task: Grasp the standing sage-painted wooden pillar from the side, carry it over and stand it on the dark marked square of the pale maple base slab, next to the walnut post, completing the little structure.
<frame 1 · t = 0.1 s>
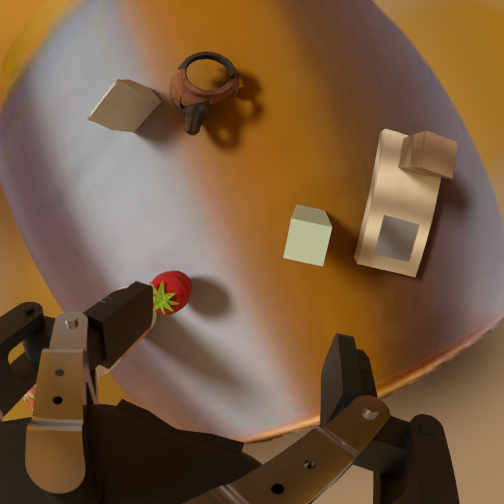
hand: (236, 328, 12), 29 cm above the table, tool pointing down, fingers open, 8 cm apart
pillar: (307, 221, 39), on the table
strawberry: (183, 279, 45), on the table
fruit juice: (136, 307, 49), on the table
pottery mug: (207, 99, 37), on the table
base slab: (398, 202, 36), on the table
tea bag: (142, 110, 39), on the table
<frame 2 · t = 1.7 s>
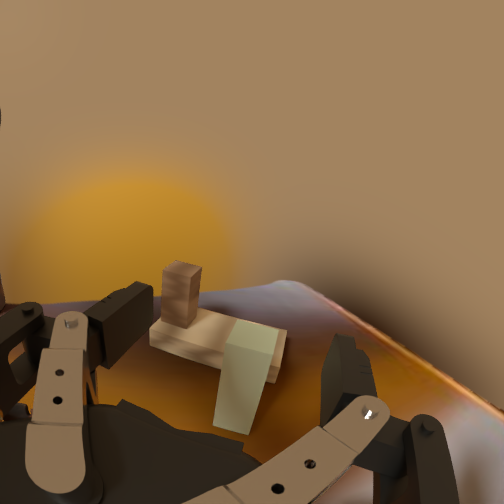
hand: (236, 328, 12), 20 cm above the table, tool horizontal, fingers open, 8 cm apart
pillar: (234, 417, 28), on the table
pottery mug: (35, 471, 14), on the table
base slab: (218, 347, 40), on the table
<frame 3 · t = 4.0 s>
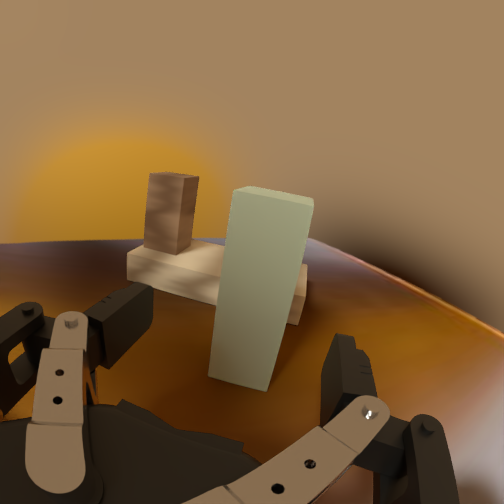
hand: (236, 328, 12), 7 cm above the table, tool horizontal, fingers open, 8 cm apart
pillar: (243, 366, 19), on the table
base slab: (218, 285, 31), on the table
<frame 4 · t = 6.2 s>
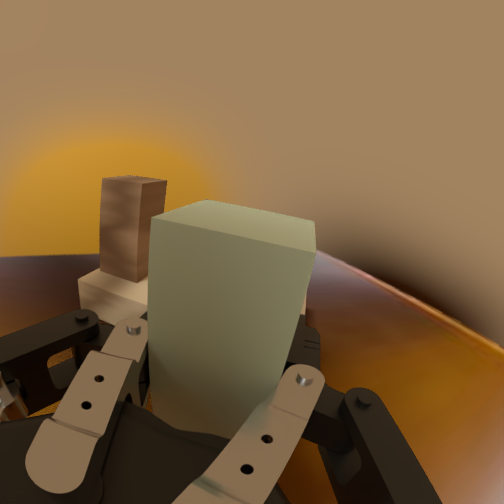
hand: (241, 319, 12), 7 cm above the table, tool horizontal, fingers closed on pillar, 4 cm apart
pillar: (209, 451, 12), on the table, touching gripper
base slab: (193, 319, 24), on the table
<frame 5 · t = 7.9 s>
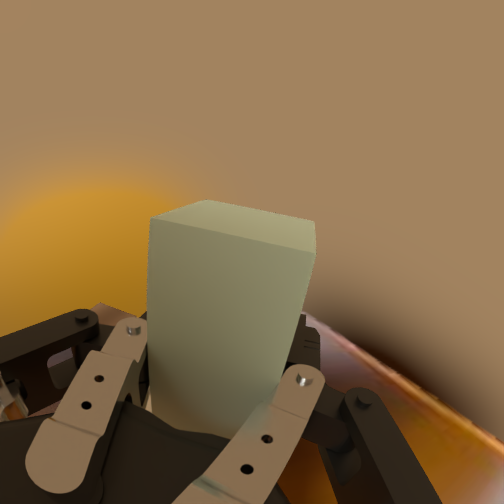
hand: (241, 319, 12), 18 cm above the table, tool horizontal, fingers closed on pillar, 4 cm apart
pillar: (209, 451, 12), point 11 cm above the table, touching gripper
base slab: (175, 429, 23), on the table
when the fingers open (11 cm above the table, at t = 10.0 s): pillar stays where it is, resting on base slab.
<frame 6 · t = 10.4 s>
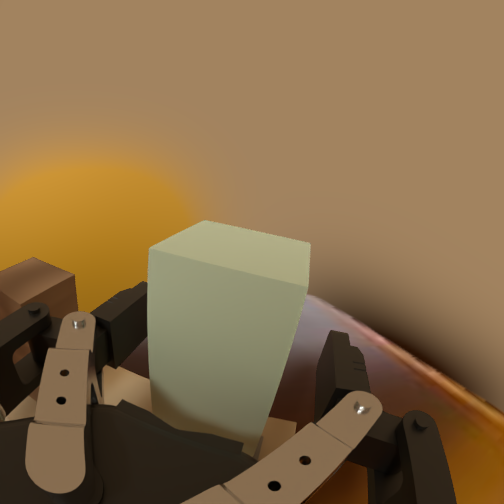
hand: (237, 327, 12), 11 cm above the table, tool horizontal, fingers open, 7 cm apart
pillar: (209, 458, 12), point 3 cm above the table, touching base slab
base slab: (139, 454, 14), on the table
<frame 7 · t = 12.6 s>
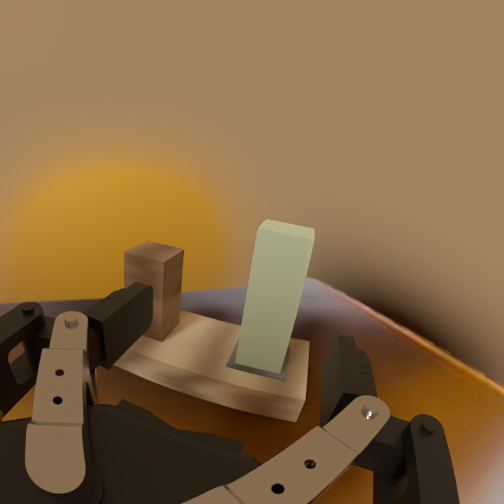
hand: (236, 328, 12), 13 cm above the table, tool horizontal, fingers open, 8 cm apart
pillar: (261, 355, 25), point 3 cm above the table, touching base slab
base slab: (211, 368, 27), on the table
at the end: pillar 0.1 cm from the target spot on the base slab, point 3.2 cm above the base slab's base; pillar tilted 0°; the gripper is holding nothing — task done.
